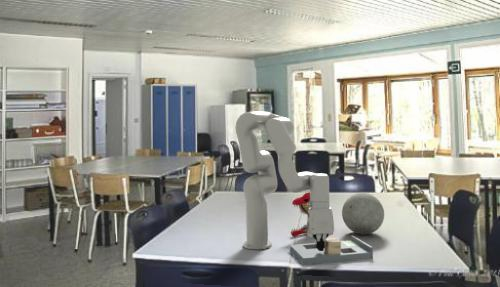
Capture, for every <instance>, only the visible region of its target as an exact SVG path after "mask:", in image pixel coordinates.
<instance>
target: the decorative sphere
mask: <svg viewBox="0 0 500 287" xmlns="http://www.w3.org/2000/svg"><path fill="white" fill-rule="evenodd" d="M341 215H342V221H343V223H344V224H345V226H346V227H347V228H348V230H350V231H351V232H352V233H355V234H357V235H369V234H372V233H375V232H376V231H378V230H379V229H380V228H381V227H382V225H383V223H384V220H385V210H384V207H383V205H382V203H381V201H380V200H379V199H378V198H377V197H375V195H373V194H370V193H366V192H359V193H357V192H356V193H355V194H352V195H351V196H349V197H348V198H347V199H346V200H345V202H344V203H343V206H342V209H341Z"/></svg>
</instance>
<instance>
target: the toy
mask: <svg viewBox="0 0 500 287" xmlns="http://www.w3.org/2000/svg"><path fill="white" fill-rule="evenodd" d="M309 202H310V191H309V192H305V193H303V195H302V196H300V197H299V196H298V197H297V198H294V199H293V200H292V203H291V204H292V205H293V206H294V207H296V208H297V209H298V208H299V210H300V211H299V213H301V214H302V215H303V216H304V215H306V216H308V210H309V208H310V206H307V203H309ZM307 232H308V231H307V224H303V226H301V227H298V228H294V229H293V228H292V229H291V231H290V234H291V236H292V237H294V236H295V237H296V236H299V235H302V234H304V235H305V234H307ZM295 237H294V238H295Z"/></svg>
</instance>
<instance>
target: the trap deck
mask: <svg viewBox="0 0 500 287" xmlns="http://www.w3.org/2000/svg"><path fill="white" fill-rule="evenodd" d="M340 241H341V254H332V255H329V254H327V253H326V252H325V251H319V250H318V249H317V248H316V242H313V243H309V242H308V243H299V244H298V243H297V244H290V245H289V251H290V252H291V254H292V255H294V256H295V258H297V259H298V261H299V262H301V264H302V265H314V264H325V262H328V263H336V262H337V263H338V262H348V261H357V260H358V261H360V260H369V259H373V258H374V254H373V253H374V247H373V246H372V245H370V244H368V243H366V242H364V241H363V240H361V239H360V238H358V237H356V236H354V235H350V239H349V240H340Z"/></svg>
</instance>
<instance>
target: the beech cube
mask: <svg viewBox="0 0 500 287" xmlns="http://www.w3.org/2000/svg"><path fill="white" fill-rule="evenodd" d="M341 241H342V240H340V239H338V238H337V237H330V238H326V240H325V248H324V251H325V252H326V253H327V254H329V255H332V254H341Z"/></svg>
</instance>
